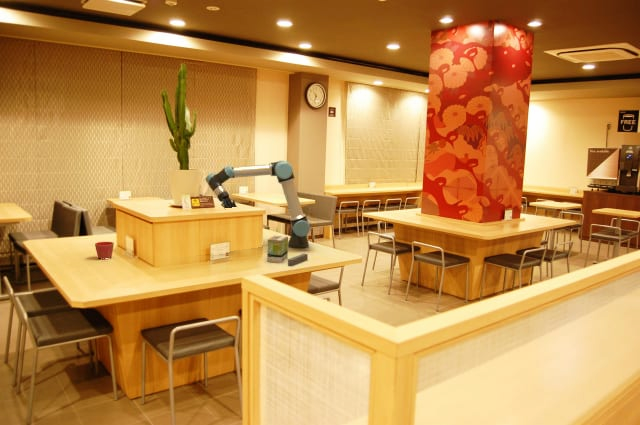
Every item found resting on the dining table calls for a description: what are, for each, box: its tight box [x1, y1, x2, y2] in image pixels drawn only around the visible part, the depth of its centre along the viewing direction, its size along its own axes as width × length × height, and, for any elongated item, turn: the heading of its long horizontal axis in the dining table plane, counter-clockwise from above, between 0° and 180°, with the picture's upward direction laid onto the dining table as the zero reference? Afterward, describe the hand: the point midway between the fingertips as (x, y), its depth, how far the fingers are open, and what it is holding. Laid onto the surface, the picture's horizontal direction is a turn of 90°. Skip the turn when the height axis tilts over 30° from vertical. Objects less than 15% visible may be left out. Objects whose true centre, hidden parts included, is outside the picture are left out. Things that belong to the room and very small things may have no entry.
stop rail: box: [287, 253, 309, 267], centre depth 320 cm, size 20×3×4 cm, turn 153°
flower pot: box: [94, 241, 114, 259], centre depth 320 cm, size 11×11×10 cm
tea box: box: [266, 235, 289, 264], centre depth 326 cm, size 15×10×15 cm
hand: (240, 221), depth 337 cm, fingers closed
